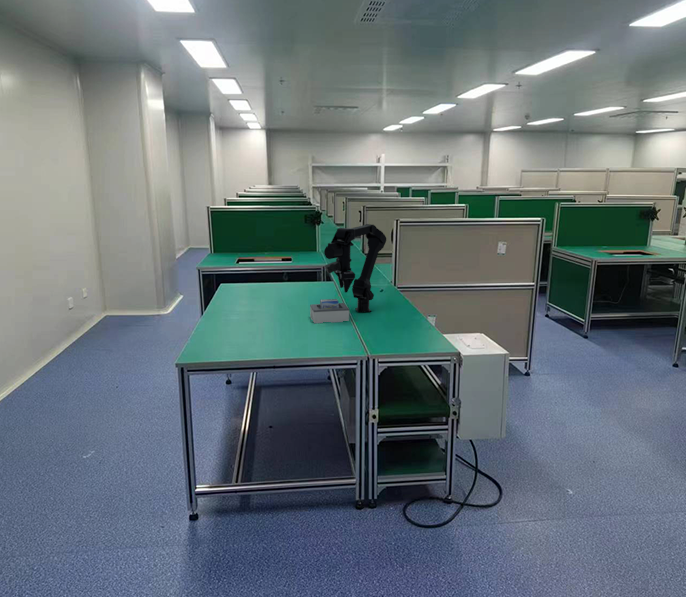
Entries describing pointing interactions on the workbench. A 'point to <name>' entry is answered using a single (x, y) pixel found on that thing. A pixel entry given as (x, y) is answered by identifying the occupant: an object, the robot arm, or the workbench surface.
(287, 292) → the workbench surface
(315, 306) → the open box
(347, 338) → the workbench surface
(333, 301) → the medicine box
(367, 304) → the robot arm
